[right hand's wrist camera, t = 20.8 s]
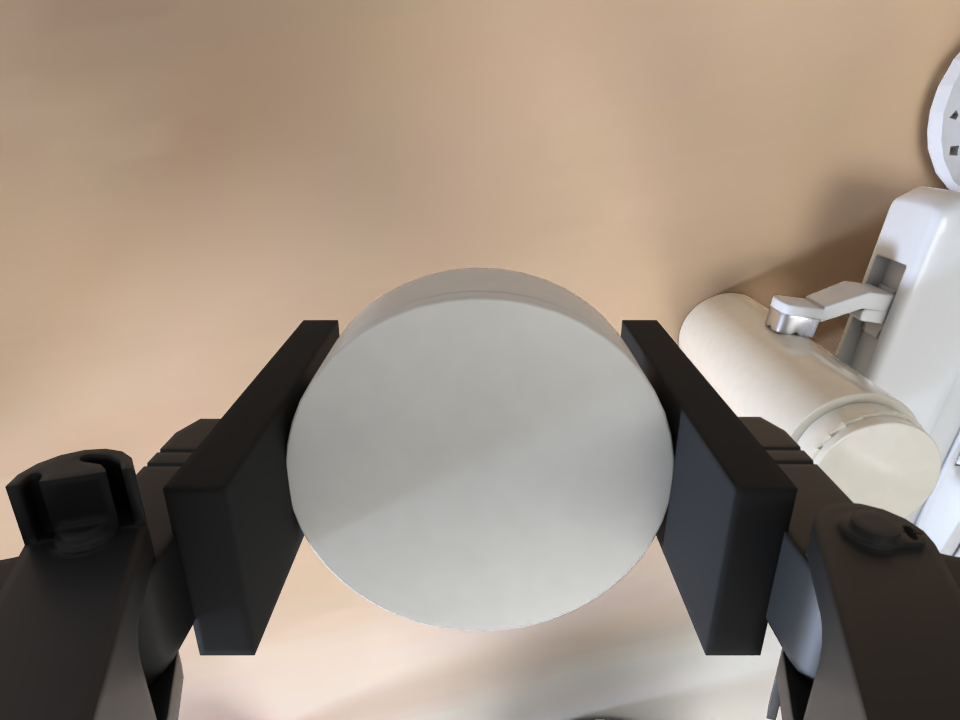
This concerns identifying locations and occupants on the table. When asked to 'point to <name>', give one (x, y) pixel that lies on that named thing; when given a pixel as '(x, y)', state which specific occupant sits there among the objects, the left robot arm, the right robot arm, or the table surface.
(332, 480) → the lid
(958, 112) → the mechanical component
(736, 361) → the jar
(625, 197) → the table surface
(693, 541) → the right robot arm
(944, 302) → the left robot arm
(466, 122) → the table surface
